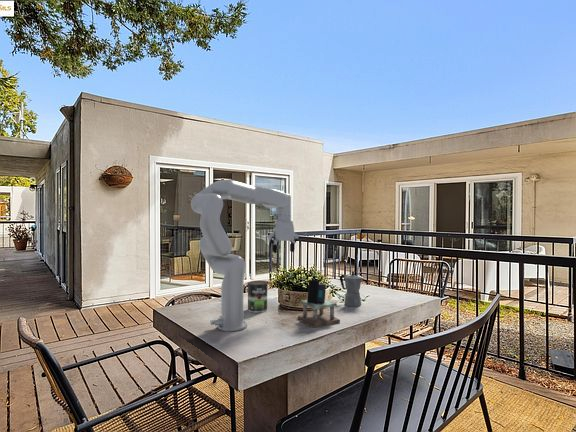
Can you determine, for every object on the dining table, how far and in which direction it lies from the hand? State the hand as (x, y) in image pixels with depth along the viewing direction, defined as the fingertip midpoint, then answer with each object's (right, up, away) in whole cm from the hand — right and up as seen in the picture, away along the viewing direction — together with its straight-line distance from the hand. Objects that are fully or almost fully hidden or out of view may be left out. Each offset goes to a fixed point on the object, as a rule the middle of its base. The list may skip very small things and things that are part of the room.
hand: (283, 252), depth 172 cm
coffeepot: (+37, -31, +16) cm, 50 cm away
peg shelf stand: (+16, -30, -14) cm, 37 cm away
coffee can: (-13, -31, +4) cm, 34 cm away
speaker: (+16, -22, -14) cm, 30 cm away
